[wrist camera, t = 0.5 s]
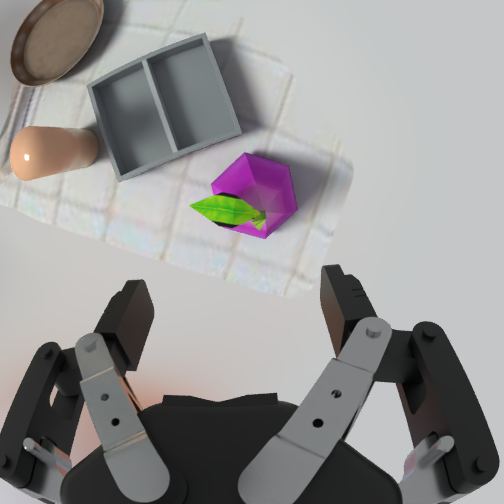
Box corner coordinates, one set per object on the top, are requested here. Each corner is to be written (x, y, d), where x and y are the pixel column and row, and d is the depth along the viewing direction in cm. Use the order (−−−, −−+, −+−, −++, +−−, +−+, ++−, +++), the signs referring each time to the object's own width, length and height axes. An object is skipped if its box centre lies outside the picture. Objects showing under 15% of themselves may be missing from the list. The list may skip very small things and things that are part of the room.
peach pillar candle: (61, 140, 33) (5, 143, 20) (92, 122, 32) (39, 116, 20) (73, 175, 34) (18, 189, 22) (103, 157, 34) (53, 165, 22)
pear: (271, 137, 36) (298, 130, 21) (308, 210, 39) (352, 245, 25) (194, 180, 37) (174, 199, 23) (236, 249, 40) (241, 304, 26)
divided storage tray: (97, 89, 31) (86, 85, 28) (207, 42, 30) (205, 32, 27) (127, 179, 36) (118, 182, 32) (240, 134, 35) (242, 133, 32)
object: (45, 112, 31) (34, 110, 28) (7, 53, 25) (-3, 50, 22) (132, 25, 28) (125, 17, 25) (81, -23, 23) (74, -30, 20)
